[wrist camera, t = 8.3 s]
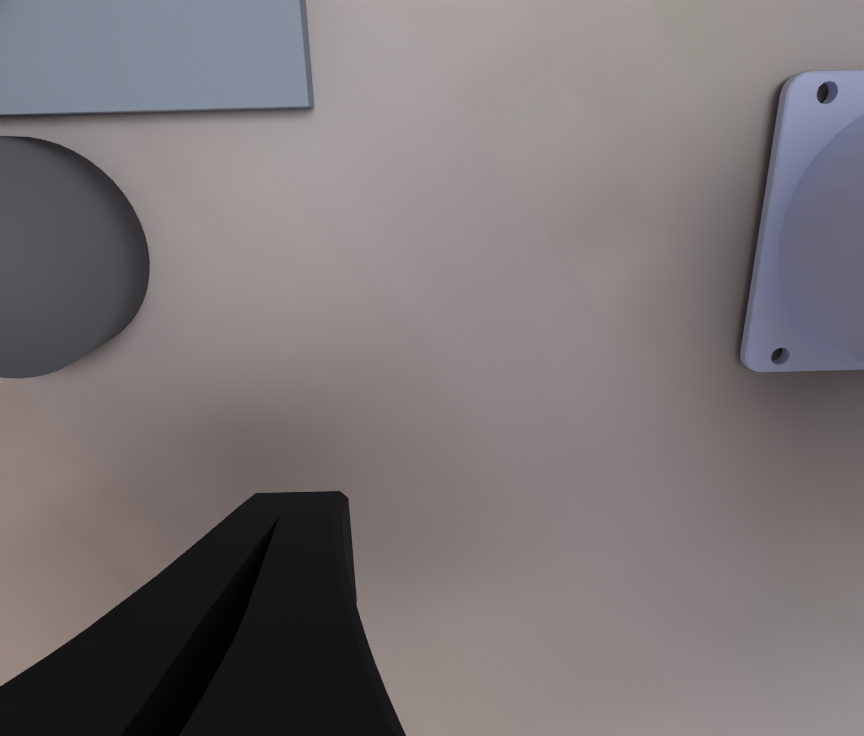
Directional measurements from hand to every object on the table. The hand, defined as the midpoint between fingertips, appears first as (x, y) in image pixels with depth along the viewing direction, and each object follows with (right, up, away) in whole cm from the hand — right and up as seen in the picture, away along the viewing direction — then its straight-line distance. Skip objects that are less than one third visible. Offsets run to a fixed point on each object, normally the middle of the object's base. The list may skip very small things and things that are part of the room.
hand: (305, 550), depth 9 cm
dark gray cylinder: (-9, +6, +8) cm, 14 cm away
